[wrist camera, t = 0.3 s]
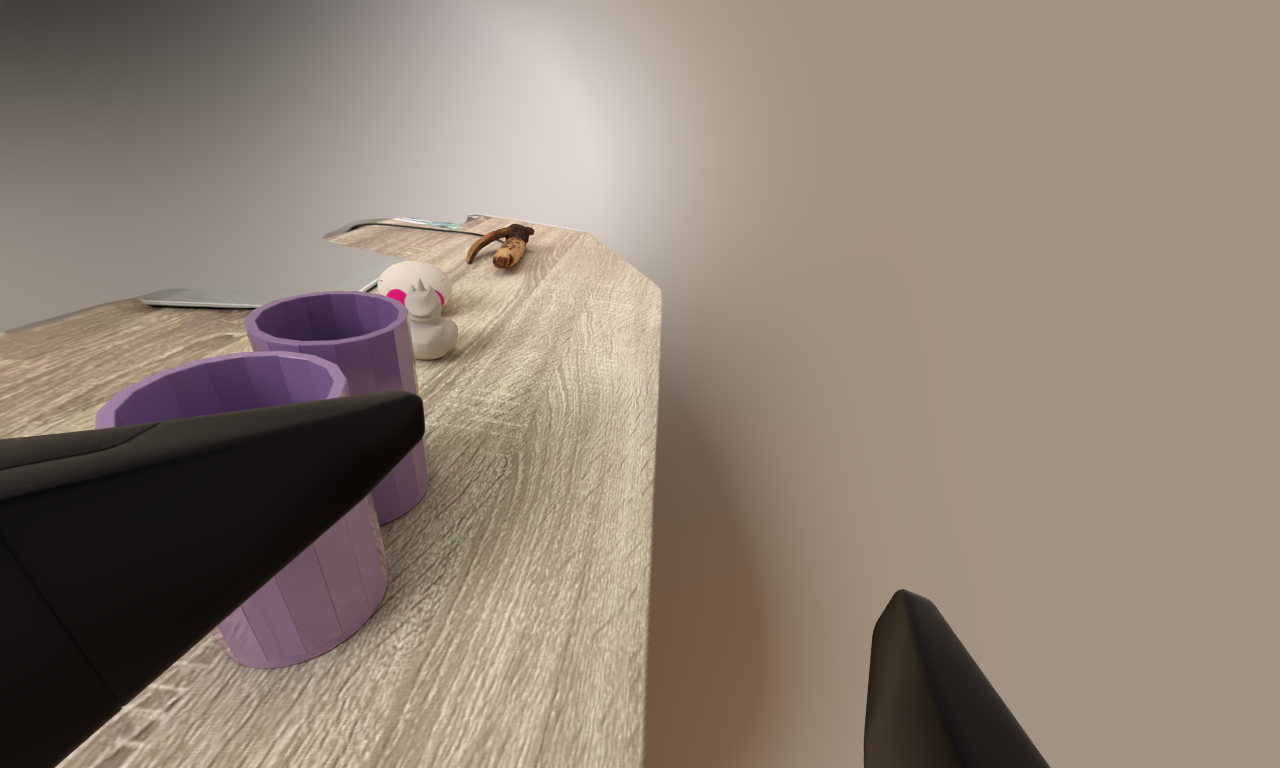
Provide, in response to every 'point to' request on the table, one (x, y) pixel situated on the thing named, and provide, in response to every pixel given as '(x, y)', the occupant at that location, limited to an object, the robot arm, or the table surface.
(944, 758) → the robot arm
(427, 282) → the stress ball
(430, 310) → the rubber duck
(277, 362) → the tumbler
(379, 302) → the tumbler
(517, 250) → the lashed bone hook
